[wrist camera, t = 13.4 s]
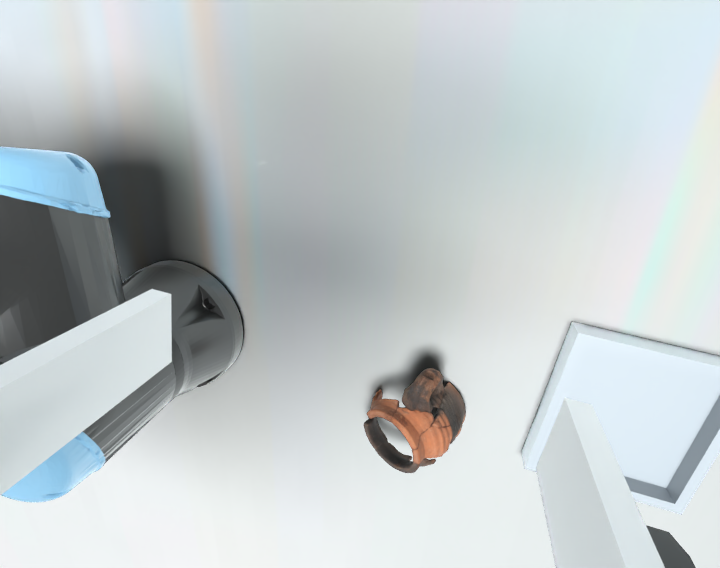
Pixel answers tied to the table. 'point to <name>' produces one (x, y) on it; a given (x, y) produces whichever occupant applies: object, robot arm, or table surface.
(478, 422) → the table surface
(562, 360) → the tray
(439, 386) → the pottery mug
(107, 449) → the robot arm
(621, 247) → the table surface
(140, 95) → the table surface
